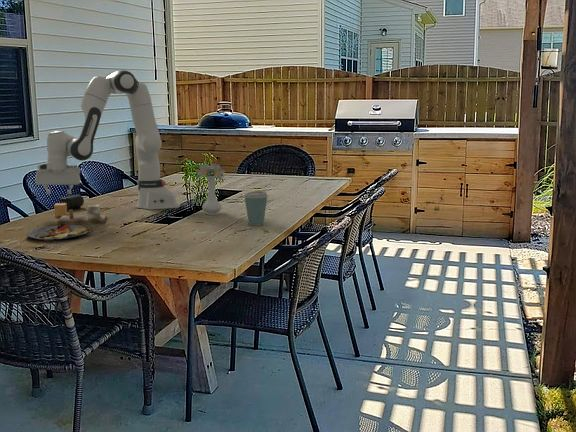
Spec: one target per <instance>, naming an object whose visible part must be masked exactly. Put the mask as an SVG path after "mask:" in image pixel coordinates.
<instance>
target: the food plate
mask: <svg viewBox="0 0 576 432" xmlns="http://www.w3.org/2000/svg"><path fill="white" fill-rule="evenodd" d="M90 231H91V230H90V227H89V226H84V225H83V226H82V225H76V224H60V225H55V226H47V227H46V226H45V227H41V228H35V229H32V230H29V231H28V232H26V233H25V235H26V236H27V237H29V238H33V239H37V240H41V241H45V242H47V241H48V242H51V241H54V240H56V241H57V240H58V241H59V240H66V239H67V240H68V239H69V238H76V237H78V236H82V235H87V234H88V233H89V232H90Z"/></svg>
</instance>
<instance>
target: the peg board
mask: <svg viewBox="0 0 576 432" xmlns="http://www.w3.org/2000/svg"><path fill="white" fill-rule="evenodd" d="M100 209H101V208H100V204H88V205H87V206H86V213H87V214H77V215H74V209H70V210H68V211H69V212H68V213H69V214H68V215H66V216H60V218H59V219H58V220H57V226H60V224H68V225H87V224H88V225H89V224H91V225H92V224H93V225H94V224H95V225H96V224H105V222H106V219H107V214H105V213H104V214H101V210H100Z"/></svg>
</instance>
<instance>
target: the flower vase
mask: <svg viewBox="0 0 576 432" xmlns="http://www.w3.org/2000/svg"><path fill="white" fill-rule="evenodd" d="M225 173H226V170H224V169H223V168H221V165H220V164H218V163H217V164H216V163H211V164H210V165H208V164H207V163H206V162H205V163H204V164H199V169H197V170H196V175H197V177H196V180H199V179H202V178H203V177H204V176H205V177H206V178H207V182H208V183H207V185H208V190H207V193H208V194H207V198H206V199H205V201H204V203H203V204H202V207H201V208H202V210H203V212H205V215H207V216H215V215H219V213H220V211H221V210H222V205H221V203H220V202H219V201H218V199H217V197H216V190H215V189H216V188H215V187H216V186H215V184H216V181H215V180H216V178H217V179H218V180H220V181H221V180H222V179H223V178H224V176H225V175H224V174H225Z"/></svg>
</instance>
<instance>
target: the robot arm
mask: <svg viewBox="0 0 576 432" xmlns="http://www.w3.org/2000/svg"><path fill="white" fill-rule="evenodd" d="M111 94H116V95H117V94H119V95H120V94H121V95H122V94H125V95H126V97H127V99H128V104H129V110H130V113H131V120H132V122H133V126H134V128H135V129H134V130H135V132H136V136H135V139H134V141H135V142H134V143H135V145H134V146H135V153H136V159H137V171H138V172H137V173H138V180H137V190H138V196H137V202H136V203H137V204H136V208H138V209H143V210H145V209H146V210H162V209H177V208H180V207H181V203H180V202H178V201H177V199H176V195H175V194H174V192H173V191H171V190H170V189H168V188H167V187H166V181H165V180H163V179H161V165H160V164H161V163H160V159H159V151H161V150H160V149H161V148H162V146H163V145H162V144H163V142H162V139H161V135H160V132H159V128H158V125H157V122H156V117H155V112H154V107H153V103H152V97H151V95H150V91H149V88H148V86H147V84H146V83H144V82H141V81H138V80H137V77H135V75H134V74H133V73H132V72H131V71H128V70H126V69H125V70H124V69H123V70H115V71H113V72H110V73H108V74H107V75H106V76H102V75H96V76H94V77H93V78H92V79H91V80H90V82H89V84H88V85H87V87H86V89H85V91H84V94H83V96H82V99H81V104H80V108H81V110H82V113H83V115H84V123H83V126H82V129H81V131H80V135H79V136H78V137H76V136H74V135H71V134H68V133H67V132H66V131H64V130H55V131H51V132H49V133H48V135H47V138H46V152H47V161H46V162H42V163H39V164H38V165H37V170H36V173H35V184H36V185H38V186H43V189H44V190H45V191H46V193H45V194H46V195H51V190H50V189H49V188H48V186H50V185H51V186H52V185H53V186H59V185H60V186H61V185H62V186H65V185H68V186H69V188H68V189H67V191H66V194H67V195H71V194H72V192H71V191H72V189H73V187H74V185H77V186H78V185H80V184H81V175H80V174H81V168H80V166H78V165H71V164H69V165H68V157H71V158H73V159H76V160H78V161H82V162H83V161H86V160H89V159H90V158H91V157H92V155H93V153H94V140H95V136H96V133H97V130H98V127H99V124H100V121H101V118H102V115H103V112H104V109H105V107H106V105H107V102H108V99H109V97H110V95H111Z"/></svg>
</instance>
